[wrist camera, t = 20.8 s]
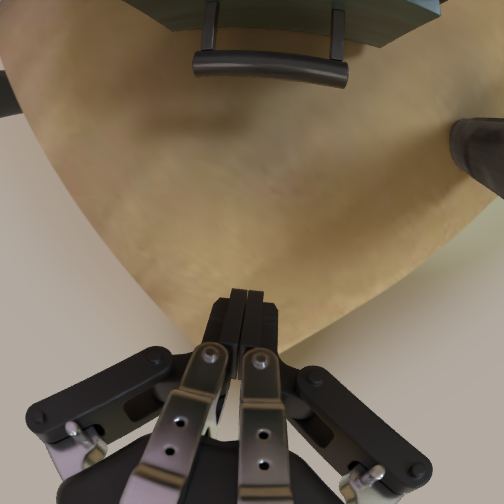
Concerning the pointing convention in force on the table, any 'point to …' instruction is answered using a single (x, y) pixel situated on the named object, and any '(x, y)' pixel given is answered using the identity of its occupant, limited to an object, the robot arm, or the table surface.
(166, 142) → the table surface
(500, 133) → the beverage cup
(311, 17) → the drawer
